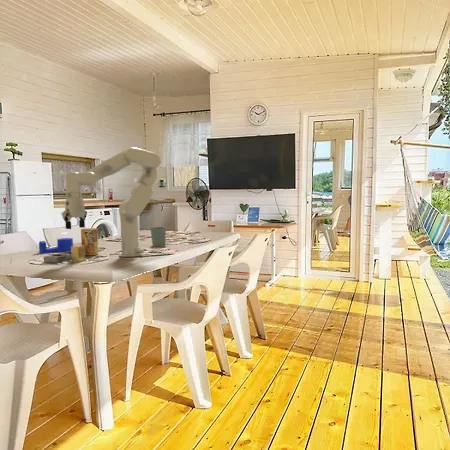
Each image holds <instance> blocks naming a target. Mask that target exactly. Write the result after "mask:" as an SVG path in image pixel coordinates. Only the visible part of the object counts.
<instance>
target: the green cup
mask: <svg viewBox="0 0 450 450" xmlns="http://www.w3.org/2000/svg"><path fill="white" fill-rule="evenodd" d="M166 231H167V227H165V226H156V227H151V228H150V234H151V243H152V244H151V245H152V247H164V246H166V245H167V243H166V242H167V241H166V237H167V235H166Z"/></svg>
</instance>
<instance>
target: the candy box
mask: <svg viewBox="0 0 450 450" xmlns="http://www.w3.org/2000/svg"><path fill="white" fill-rule="evenodd" d="M80 236H81V237H80V238H81V246H84V256H97V255H99V238H98V237H99V236H98V228H97V227H94V228H93V227H92V228H91V227H90V228H80Z"/></svg>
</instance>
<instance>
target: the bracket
mask: <svg viewBox="0 0 450 450" xmlns="http://www.w3.org/2000/svg"><path fill="white" fill-rule="evenodd" d="M56 241H57V242H56V244H57V246H54V247H47V242H46V241H45V240H40V241H39V242H38V248H39V249H38V250H39V254H42V255H43V254H44V255H45V254H57V253H64V252H69V251H71V247H72V246H74V239H73V238H72V237H66V238H65V237H62V238H57V239H56Z"/></svg>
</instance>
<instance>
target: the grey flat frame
mask: <svg viewBox="0 0 450 450" xmlns="http://www.w3.org/2000/svg"><path fill="white" fill-rule="evenodd" d="M69 261H72V256H71V251H66V252H58V253H53V254H51V255H45V256H43V263H50V264H51V263H53V264H60V263H63V262H69Z"/></svg>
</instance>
